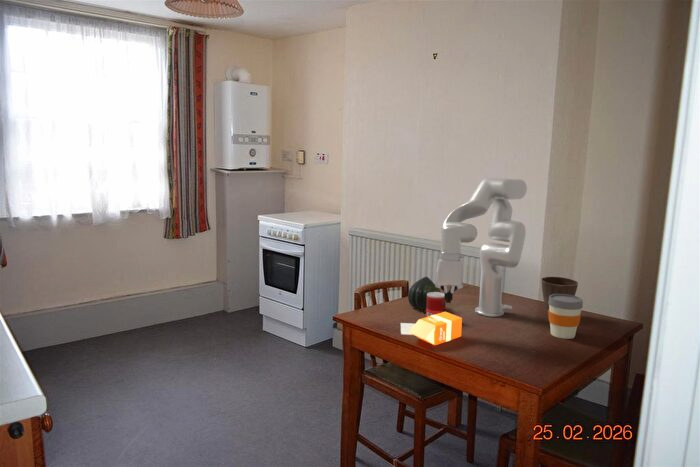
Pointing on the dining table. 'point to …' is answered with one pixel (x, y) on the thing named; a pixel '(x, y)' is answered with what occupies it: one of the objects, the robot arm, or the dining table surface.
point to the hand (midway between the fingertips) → (448, 302)
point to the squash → (421, 292)
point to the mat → (406, 328)
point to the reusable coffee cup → (564, 315)
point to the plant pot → (557, 288)
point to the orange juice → (438, 328)
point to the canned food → (435, 303)
